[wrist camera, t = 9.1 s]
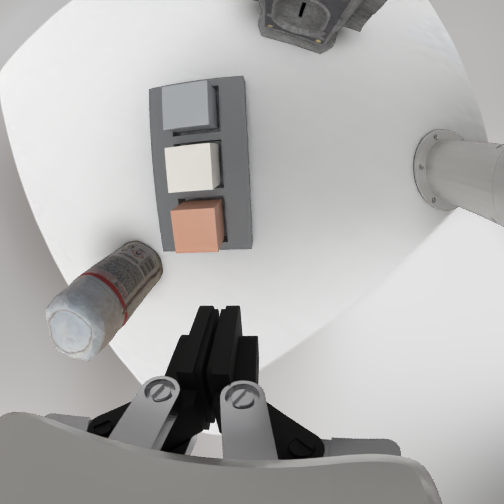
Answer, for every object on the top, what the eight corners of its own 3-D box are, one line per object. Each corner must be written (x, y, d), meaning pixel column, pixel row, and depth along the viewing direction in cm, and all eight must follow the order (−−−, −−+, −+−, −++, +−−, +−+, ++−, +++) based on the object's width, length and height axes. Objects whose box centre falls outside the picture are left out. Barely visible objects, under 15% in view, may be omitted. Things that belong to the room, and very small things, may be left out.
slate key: (216, 91, 30) (206, 80, 24) (217, 128, 32) (208, 124, 26) (177, 96, 30) (161, 87, 24) (179, 132, 32) (163, 130, 26)
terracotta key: (222, 198, 35) (214, 207, 29) (225, 235, 37) (218, 251, 31) (184, 200, 35) (170, 210, 29) (188, 237, 37) (175, 253, 31)
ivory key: (218, 143, 32) (209, 142, 27) (221, 182, 34) (212, 189, 28) (180, 147, 33) (164, 148, 27) (183, 185, 34) (168, 193, 29)
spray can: (106, 255, 40) (29, 322, 22) (139, 227, 38) (56, 292, 20) (137, 295, 43) (78, 378, 24) (172, 272, 41) (116, 361, 22)
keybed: (244, 81, 31) (243, 75, 28) (252, 241, 38) (251, 248, 36) (157, 92, 31) (148, 89, 29) (170, 244, 39) (163, 251, 36)
